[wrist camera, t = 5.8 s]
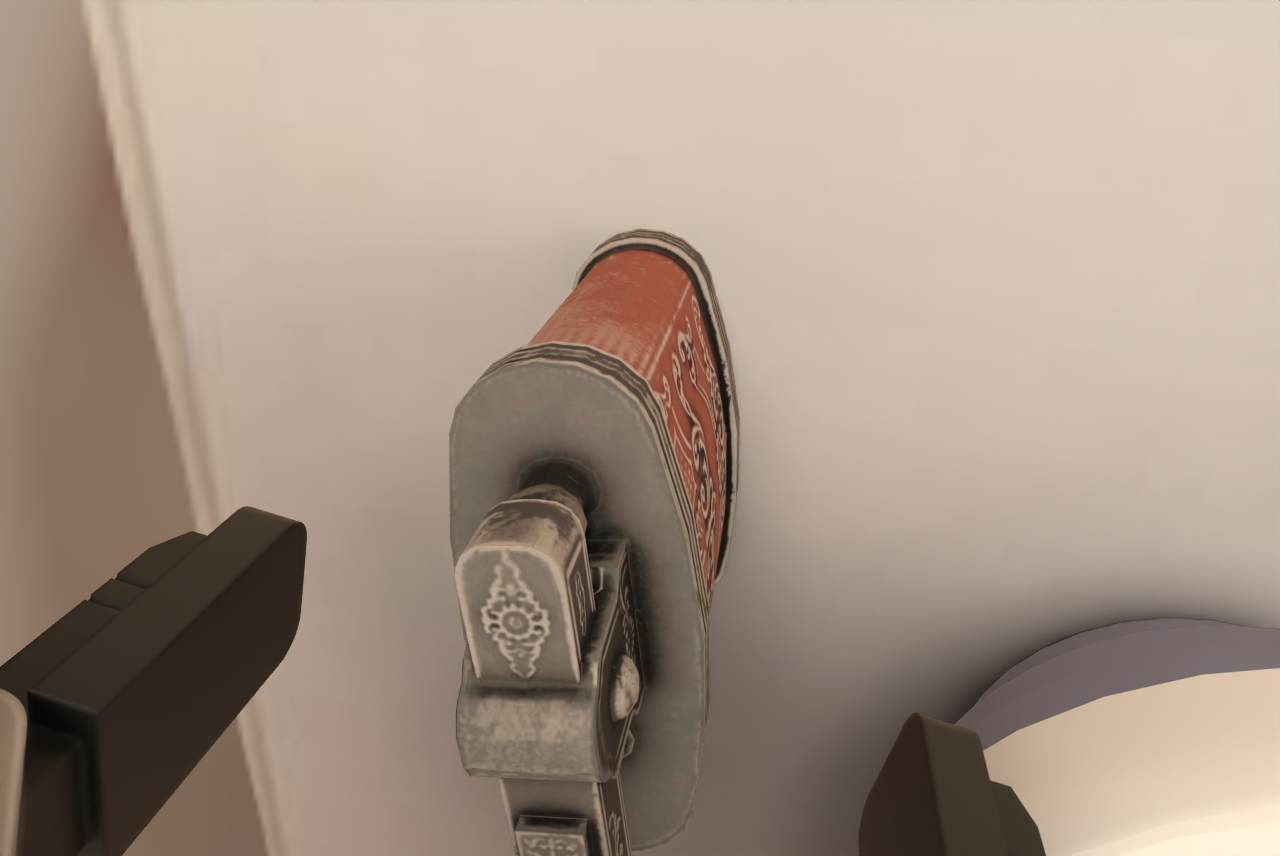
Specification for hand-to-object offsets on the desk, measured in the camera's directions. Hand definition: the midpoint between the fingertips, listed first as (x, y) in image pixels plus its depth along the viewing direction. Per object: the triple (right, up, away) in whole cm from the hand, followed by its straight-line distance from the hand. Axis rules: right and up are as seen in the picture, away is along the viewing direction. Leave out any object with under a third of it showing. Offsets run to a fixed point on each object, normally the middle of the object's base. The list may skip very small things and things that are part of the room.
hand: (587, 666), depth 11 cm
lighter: (+1, +3, +8) cm, 8 cm away
